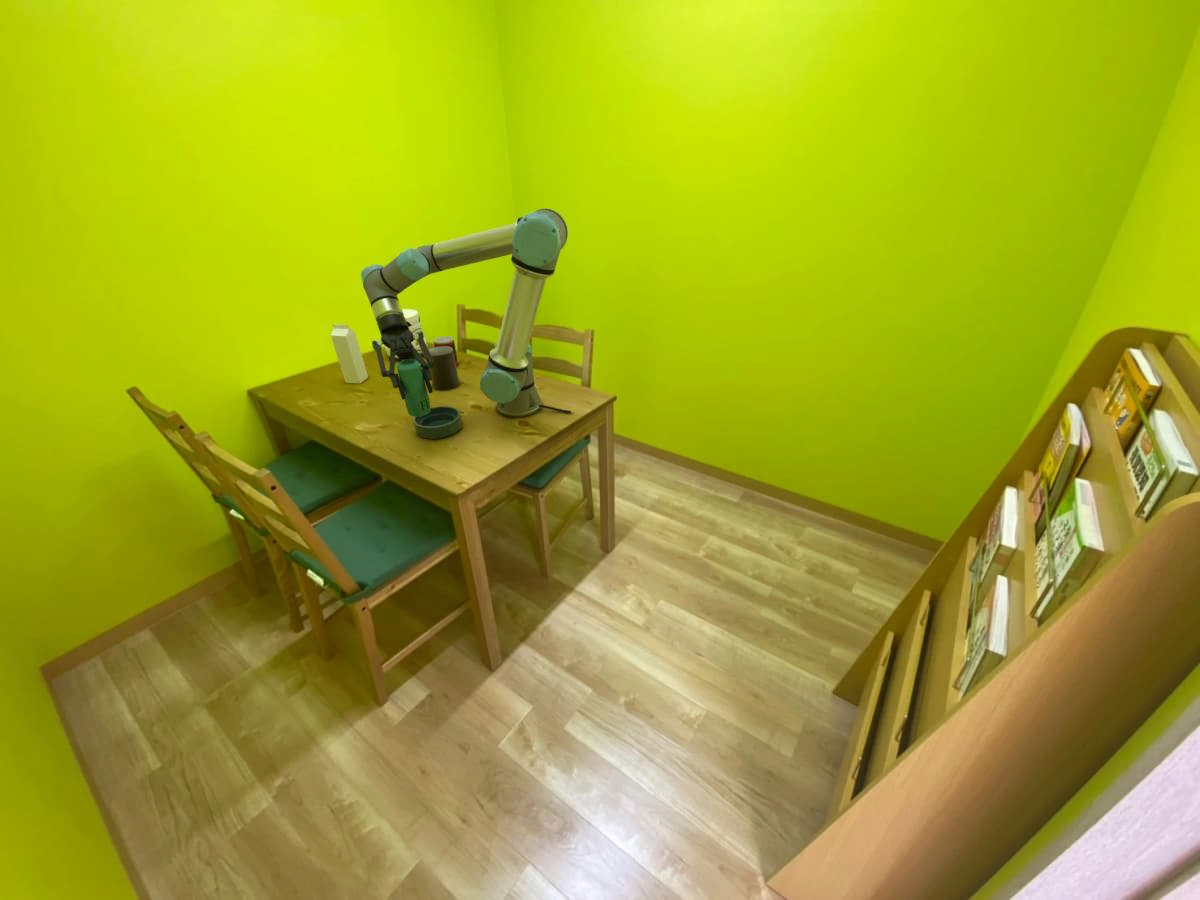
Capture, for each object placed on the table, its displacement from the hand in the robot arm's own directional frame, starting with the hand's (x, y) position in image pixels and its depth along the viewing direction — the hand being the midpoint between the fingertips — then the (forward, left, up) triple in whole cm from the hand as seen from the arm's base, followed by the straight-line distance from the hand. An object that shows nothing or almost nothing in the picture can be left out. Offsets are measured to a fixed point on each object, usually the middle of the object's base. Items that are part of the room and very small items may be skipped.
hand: (417, 394), depth 129 cm
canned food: (+12, -69, -20) cm, 73 cm away
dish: (+2, -15, -20) cm, 25 cm away
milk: (+44, -55, -20) cm, 73 cm away
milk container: (+32, -81, -20) cm, 89 cm away
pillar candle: (+8, -49, -20) cm, 54 cm away
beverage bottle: (+2, -3, -9) cm, 9 cm away
